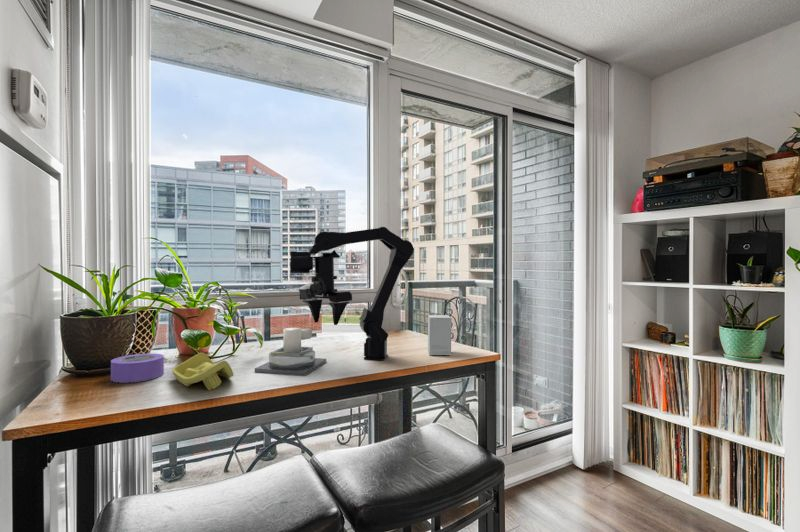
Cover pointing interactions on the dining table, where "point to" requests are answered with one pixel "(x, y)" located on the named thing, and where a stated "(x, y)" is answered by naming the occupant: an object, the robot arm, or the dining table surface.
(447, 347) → the supplement box
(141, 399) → the dining table surface
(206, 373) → the plastic component
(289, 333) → the elbow fitting
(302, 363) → the duct stub
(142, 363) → the tape roll
